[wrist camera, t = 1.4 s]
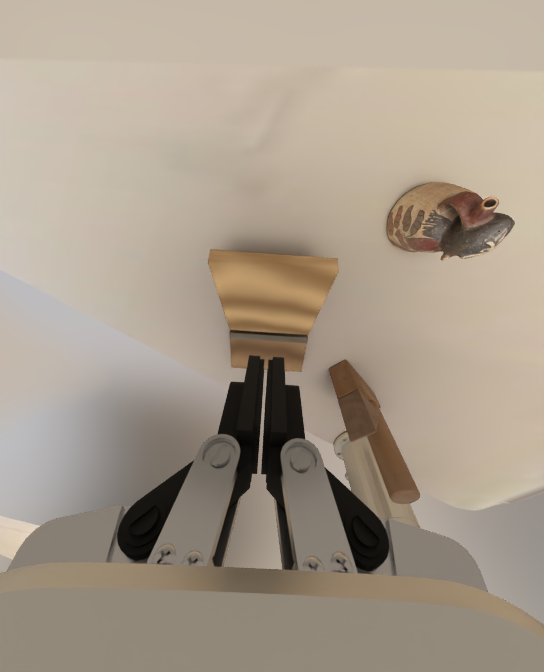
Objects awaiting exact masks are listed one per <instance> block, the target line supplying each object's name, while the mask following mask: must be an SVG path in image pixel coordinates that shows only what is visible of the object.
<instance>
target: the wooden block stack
mask: <svg viewBox="0 0 544 672" xmlns="http://www.w3.org/2000/svg"><path fill="white" fill-rule="evenodd" d="M329 371H330V375H331V378H332V381H333V385H334V388H335V392H336V395H337V398H338V402H339V406H340V409H341V412H342V416H343V419H344V423H345V426H346V429H347V433H348V436H349V440H350V442H354V441H356V440H359V439H361V438H363V437H366V436H367V438H368V441H369V443H370V446H371V449H372V451H373V454H374V457H375V460H376V462H377V465H378V468H379V470H380V473H381V476H382V478H383V481H384V484H385V487H386V489H387V492H388V495H389V497H390V499H391V500H392V502H394V503H397V504H408V503H412V502H414V501H416V500H418V499H419V498H420V493H419V491H418V489H417V487H416V484H415V482H414V480H413V478H412V476H411V474H410V472H409V470H408V468H407V466H406V463H405V461H404V459H403V457H402V455H401V453H400V451H399V449H398V447H397V445H396V442H395V440H394V438H393V436H392V434H391V432H390V430H389V428H388V426H387V424H386V422H385V419H384V417H383V415H382V413H381V411H380V409H379V408H380V404H379V402H378V400H377V398H376V396H375V394H374V393H373V391H372V390H371V389H370V388H369V387H368V385H367V384H366V383H365V382H364V381H363V379H362V378H361V377H360V376H359V375H358V373H356V371H355V370H354V369H353V367H352V366H351V365H350V364H349V363H348V361H346V360H344V361H342V362H340V363H339V364H337V365H335V366H333V367H331V368H330V369H329Z"/></svg>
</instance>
